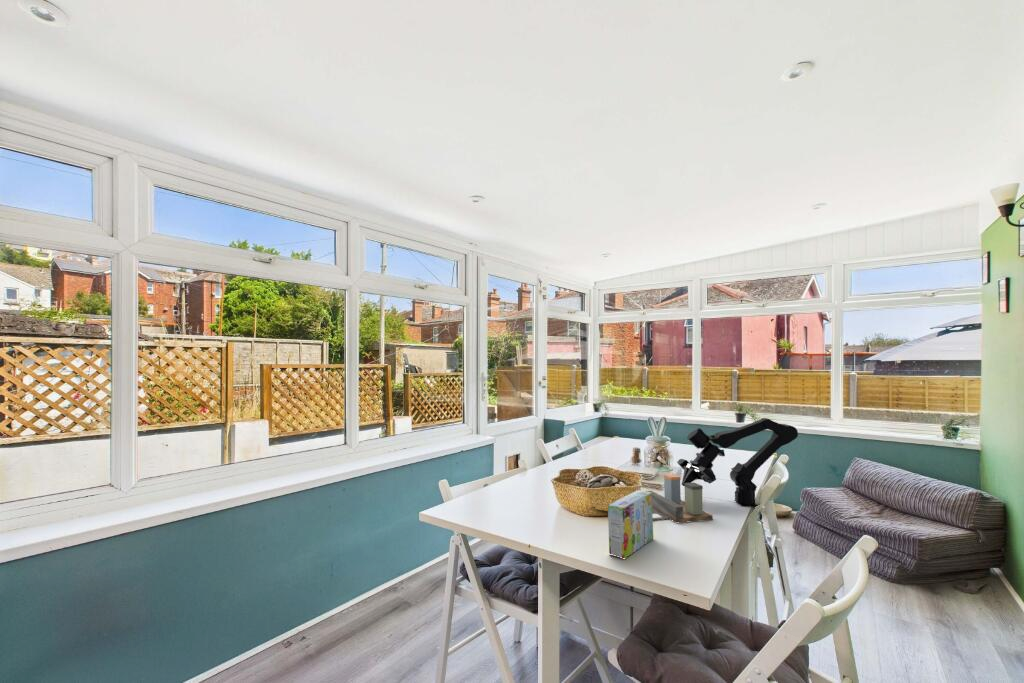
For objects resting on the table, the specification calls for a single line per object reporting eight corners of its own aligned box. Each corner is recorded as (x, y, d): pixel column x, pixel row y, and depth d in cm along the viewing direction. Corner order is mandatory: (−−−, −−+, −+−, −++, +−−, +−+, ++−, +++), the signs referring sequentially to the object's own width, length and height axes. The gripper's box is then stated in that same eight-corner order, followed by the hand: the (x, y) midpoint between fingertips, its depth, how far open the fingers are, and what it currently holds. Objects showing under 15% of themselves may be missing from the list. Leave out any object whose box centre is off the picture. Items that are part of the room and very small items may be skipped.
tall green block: (694, 509, 174) (693, 482, 175) (703, 514, 169) (702, 485, 170) (684, 510, 173) (684, 483, 174) (693, 515, 168) (692, 486, 169)
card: (650, 507, 182) (650, 506, 182) (669, 519, 169) (669, 517, 169) (631, 509, 181) (631, 508, 181) (649, 521, 167) (649, 519, 167)
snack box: (637, 535, 153) (637, 489, 154) (654, 539, 150) (653, 492, 151) (607, 555, 137) (607, 504, 138) (625, 560, 133) (624, 507, 134)
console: (678, 502, 190) (677, 488, 190) (712, 519, 168) (712, 504, 168) (644, 504, 186) (644, 491, 187) (675, 523, 165) (675, 507, 165)
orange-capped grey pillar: (673, 499, 188) (673, 473, 188) (681, 503, 183) (680, 476, 183) (664, 500, 187) (663, 474, 187) (671, 503, 182) (671, 477, 182)
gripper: (734, 475, 181) (710, 505, 178) (705, 465, 199) (682, 492, 196) (716, 456, 180) (691, 486, 177) (688, 447, 198) (665, 474, 195)
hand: (682, 485), depth 186 cm, fingers closed
